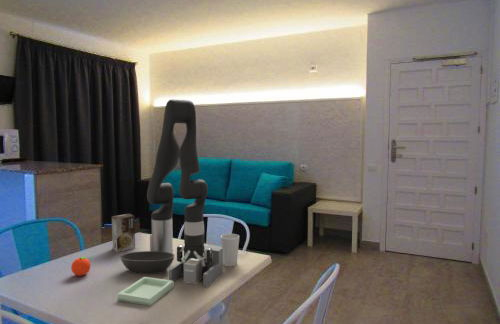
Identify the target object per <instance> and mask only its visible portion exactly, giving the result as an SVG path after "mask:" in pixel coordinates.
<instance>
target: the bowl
mask: <svg viewBox="0 0 500 324" xmlns="http://www.w3.org/2000/svg"><path fill="white" fill-rule="evenodd" d="M174 259H175V254H174V253H173V254H172V253H169V252H161V251H150V250H145V251H143V250H141V251H131V252H126V253H123V254H121V255H120V261H121V263H122V264H123V266H124V268H126V269H127V270H128V272H130V273H132V274H138V275H151V274H152V275H153V274H162V273H164V272H166V270H169V269H170V266H171V265H172V263H173V262H174Z"/></svg>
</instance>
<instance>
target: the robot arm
mask: <svg viewBox="0 0 500 324" xmlns="http://www.w3.org/2000/svg"><path fill="white" fill-rule="evenodd" d="M195 106H196V105H195V104H194V102H193V101H192V100H188V99H186V100H185V99H173V98H172V99H169V100H168V101H167V102H166V105H165V107H164V115H163V122H162V129H161V135H160V140H159V144H158V148H157V152H156V156H155V163H154V166H153V167H154V168H153V172H152V175H151V178H150V181H149V184H148V187H147V191H146V199H147V202H148V203H149V204H151V205H161V204H162V205H161V206H160V207H159V208H158V209H155V210H154V211H152V212H151V215H150V216H151V220H150V221H151V235H149V251H161V252H169V253H172V254H174V253H173V250H174V249H173V248H174V246H173V245H174V244H173V243H174V242H173V241H174V239H173V237H174V235H173V213H174V188H173V185H172V184H171V183H170V182H163V181H164V180H165V179H166V178H167V176H169V175H170V173H171V172H173V171H174V170H175V168H176V167H177V165H178V163H179V164H180V172H181V173H180V182H179V195H180V197H181V198H182V199H183V200H193V199H194V200H193V203H190V204H188V205H186V206H185V208H184V224H183V232H184V233H183V234H184V235H183V240H184V241H183V243H184V245H182V244H179V245H178V246H177V247H176V262H178V263H179V262H181V263H182V271H183V273H184V263H185V262H186V261H187V260H188V258H191V259H192V258H194V259H198V260H199V262H201V264H202V265H203V266H202V276H203V274H204V273H205V272H206V271H207V265H210V264H211V263H212V248H209V249H205V248H204V246H205V224H204V223H205V222H204V208H205V204H206V200H207V196H208V192H209V186H208V183H207V182H206V181H205V180H204V179H191V176H193V175H197V174H198V173H199V172H200V171H201V169H200V162H199V156H198V150H197V148H198V147H197V114H196V107H195ZM176 124H185V126H186V132H185V135H184V139H183V141H182V143H181V145H179V142H178V140H177V138H176V136H175V134H174V127H175V125H176ZM184 251H185V252H186V255H185V256H184ZM204 252H205V253H206V255H207V260H206V257H205V255H204V254H203V253H204ZM201 257H202V258H201Z"/></svg>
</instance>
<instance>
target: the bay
mask: <svg viewBox="0 0 500 324" xmlns="http://www.w3.org/2000/svg"><path fill="white" fill-rule="evenodd" d="M204 248H205V249H209V248H212V263H211V264H210V265H207V271H206V272H205V273H204V274H203V278H202V284H203V285H202V288H208V287H209V286H210V285H211V284H212V283H213V282H214V281H215V280H216V279H217V278H218V277H220V275H222V273H224V271H223V270H224V269H223V268H224V267H223V266H224V265H223V248H222V247H218V246H217V247H216V246H208V245H204ZM203 254H204V255H205V257H206V260H207V255H206V253H205V252H204V253H203ZM185 255H186V252H185V251H184V250H183V257H184V256H185ZM189 259H191V258H188V260H189ZM188 260H187V261H188ZM182 276H184V273H183V271H182V263H181V262H178V263H176V264H174V265H173V266H172V267H169V268H168V280H171V281H174V282H175V281H176V280H177V279H179V278H180V277H182Z"/></svg>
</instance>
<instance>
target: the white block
mask: <svg viewBox="0 0 500 324" xmlns="http://www.w3.org/2000/svg"><path fill="white" fill-rule="evenodd" d="M201 258H202V257H201ZM202 266H203V265H202V264H201V262H199V260H198V259H194V258H192V259H189V260H188V261H186V262H185V263H184V274H183V283H187V284H194V285H196V284H197V283H199V282H200V281H201V280H203V276H202Z"/></svg>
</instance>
